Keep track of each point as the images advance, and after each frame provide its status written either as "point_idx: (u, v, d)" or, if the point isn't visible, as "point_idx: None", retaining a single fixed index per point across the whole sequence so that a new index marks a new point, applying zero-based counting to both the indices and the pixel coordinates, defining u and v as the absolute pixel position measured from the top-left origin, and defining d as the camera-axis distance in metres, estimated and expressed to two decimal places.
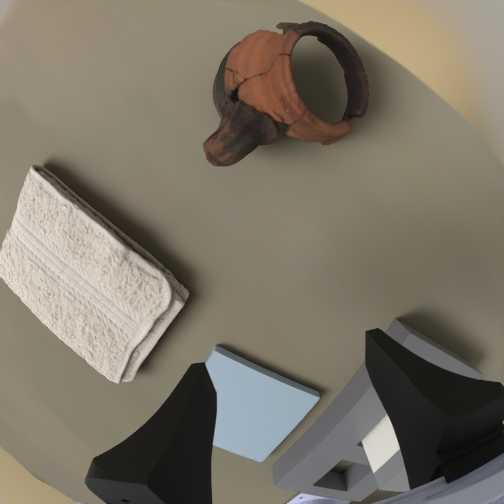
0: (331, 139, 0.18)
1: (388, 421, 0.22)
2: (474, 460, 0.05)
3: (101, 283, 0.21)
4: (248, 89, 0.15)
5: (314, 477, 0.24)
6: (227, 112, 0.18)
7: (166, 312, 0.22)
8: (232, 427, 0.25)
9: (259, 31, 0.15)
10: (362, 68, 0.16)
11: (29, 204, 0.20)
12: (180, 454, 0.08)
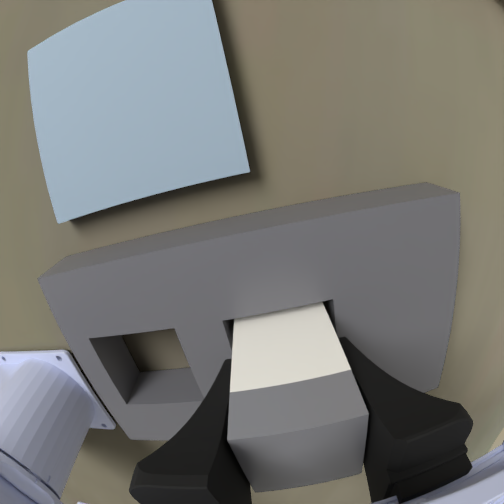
0: None
1: (315, 318, 0.12)
2: (429, 482, 0.05)
3: None
4: None
5: (103, 322, 0.13)
6: None
7: None
8: (86, 108, 0.11)
9: None
10: None
11: None
12: (227, 452, 0.08)
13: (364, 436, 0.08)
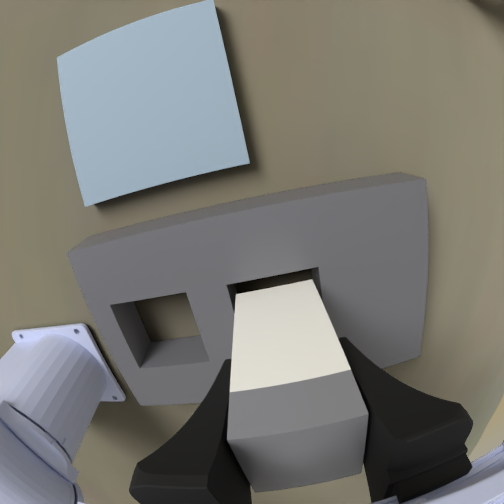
0: None
1: (314, 318, 0.12)
2: (429, 482, 0.05)
3: None
4: None
5: (124, 289, 0.16)
6: None
7: None
8: (112, 109, 0.14)
9: None
10: None
11: None
12: (227, 452, 0.08)
13: (364, 436, 0.08)
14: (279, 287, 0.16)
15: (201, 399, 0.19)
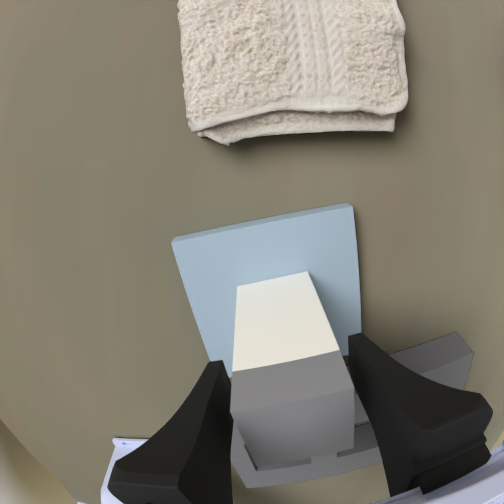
0: None
1: (308, 305, 0.14)
2: (451, 472, 0.05)
3: (336, 20, 0.11)
4: None
5: None
6: None
7: (369, 118, 0.14)
8: None
9: None
10: None
11: None
12: (204, 454, 0.08)
13: (352, 409, 0.09)
14: (277, 279, 0.17)
15: (297, 481, 0.22)
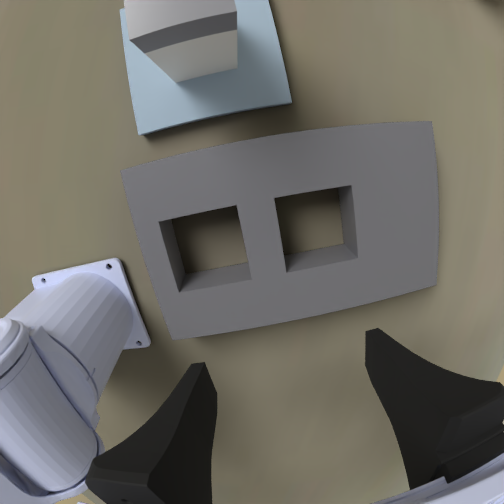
0: None
1: None
2: (474, 460, 0.05)
3: None
4: None
5: (176, 204, 0.18)
6: None
7: None
8: None
9: None
10: None
11: None
12: (180, 454, 0.08)
13: None
14: None
15: (238, 326, 0.21)
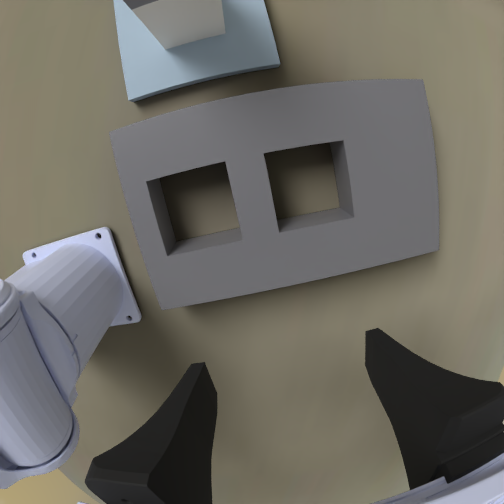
0: None
1: None
2: (474, 460, 0.05)
3: None
4: None
5: (164, 163, 0.17)
6: None
7: None
8: None
9: None
10: None
11: None
12: (180, 454, 0.08)
13: None
14: None
15: (229, 293, 0.20)
